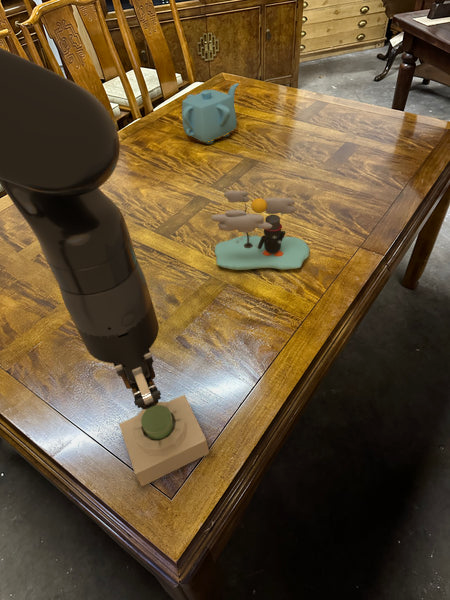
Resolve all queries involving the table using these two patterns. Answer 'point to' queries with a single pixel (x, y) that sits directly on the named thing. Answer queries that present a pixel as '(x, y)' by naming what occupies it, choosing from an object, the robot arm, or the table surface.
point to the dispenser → (164, 443)
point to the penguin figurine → (256, 249)
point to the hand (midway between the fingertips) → (149, 402)
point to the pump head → (157, 422)
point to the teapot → (209, 114)
